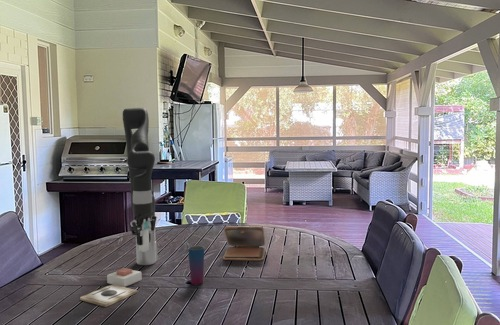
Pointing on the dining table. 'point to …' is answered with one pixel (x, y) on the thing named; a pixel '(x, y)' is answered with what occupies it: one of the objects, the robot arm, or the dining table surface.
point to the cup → (196, 264)
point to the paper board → (108, 295)
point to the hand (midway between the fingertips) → (143, 243)
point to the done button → (124, 271)
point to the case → (245, 243)
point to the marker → (145, 238)
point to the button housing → (124, 278)
